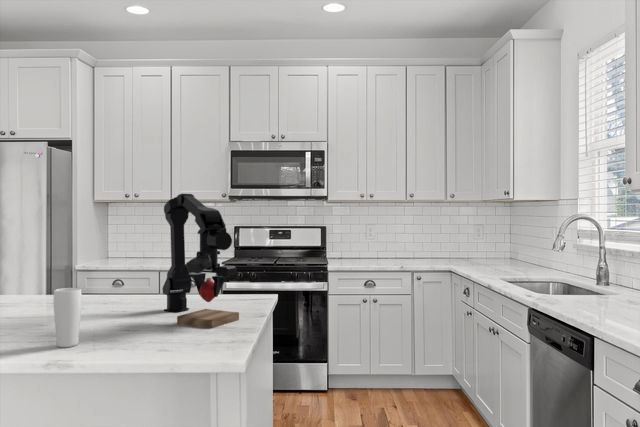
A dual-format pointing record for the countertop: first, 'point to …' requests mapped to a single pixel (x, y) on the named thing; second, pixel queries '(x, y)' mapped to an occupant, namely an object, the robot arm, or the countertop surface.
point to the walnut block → (208, 318)
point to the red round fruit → (207, 290)
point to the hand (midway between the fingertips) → (208, 296)
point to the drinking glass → (67, 316)
